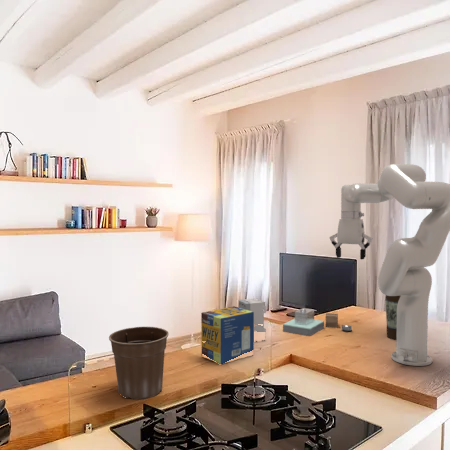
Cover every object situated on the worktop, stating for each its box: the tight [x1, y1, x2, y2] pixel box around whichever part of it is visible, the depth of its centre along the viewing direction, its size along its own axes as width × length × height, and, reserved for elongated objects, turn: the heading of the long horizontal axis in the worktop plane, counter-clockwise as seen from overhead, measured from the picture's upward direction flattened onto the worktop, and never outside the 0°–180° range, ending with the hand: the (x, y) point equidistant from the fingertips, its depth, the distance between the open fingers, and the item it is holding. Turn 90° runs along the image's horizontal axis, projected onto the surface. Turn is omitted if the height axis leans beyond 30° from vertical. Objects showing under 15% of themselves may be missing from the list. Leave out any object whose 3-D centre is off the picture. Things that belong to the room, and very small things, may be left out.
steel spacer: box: [341, 324, 353, 332], centre depth 187 cm, size 4×4×2 cm
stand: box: [282, 318, 325, 337], centre depth 189 cm, size 14×12×3 cm
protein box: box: [200, 305, 255, 365], centre depth 156 cm, size 10×15×16 cm
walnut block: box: [325, 312, 339, 329], centre depth 195 cm, size 5×5×5 cm
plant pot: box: [108, 326, 169, 400], centre depth 127 cm, size 16×16×16 cm
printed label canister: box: [385, 295, 401, 341], centre depth 178 cm, size 11×11×25 cm
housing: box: [294, 307, 315, 326], centre depth 189 cm, size 5×8×6 cm, turn 145°
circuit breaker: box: [238, 298, 267, 333], centre depth 175 cm, size 8×14×15 cm, turn 111°
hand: (350, 258), depth 183 cm, fingers open, 9 cm apart
